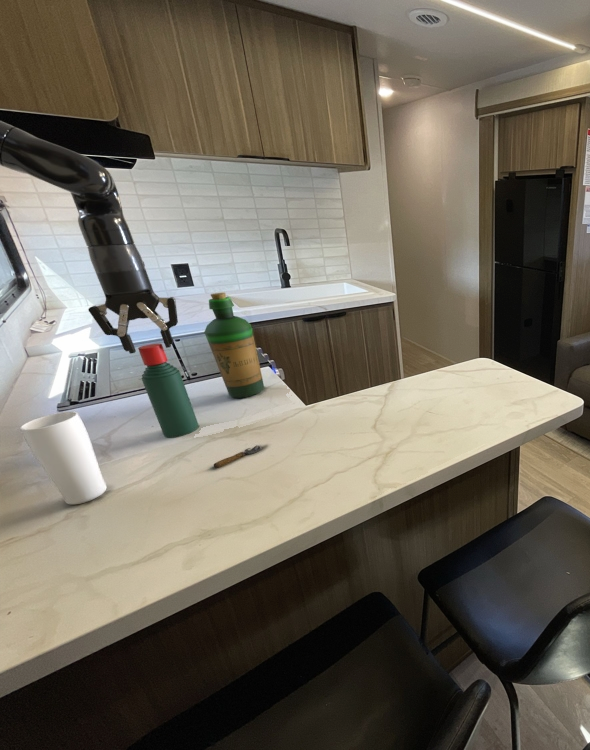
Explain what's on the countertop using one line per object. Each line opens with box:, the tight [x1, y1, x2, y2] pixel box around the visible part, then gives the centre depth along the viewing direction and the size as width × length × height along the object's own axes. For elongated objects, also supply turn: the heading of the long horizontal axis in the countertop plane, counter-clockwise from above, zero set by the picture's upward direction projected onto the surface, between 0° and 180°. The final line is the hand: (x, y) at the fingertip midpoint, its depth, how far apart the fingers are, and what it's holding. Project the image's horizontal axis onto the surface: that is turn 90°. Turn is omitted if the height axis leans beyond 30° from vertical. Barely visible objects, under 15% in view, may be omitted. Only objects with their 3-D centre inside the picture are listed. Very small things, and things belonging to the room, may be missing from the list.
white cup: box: [19, 411, 108, 506], centre depth 68 cm, size 7×7×15 cm
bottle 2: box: [203, 292, 265, 399], centre depth 109 cm, size 11×11×28 cm
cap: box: [137, 343, 168, 367], centre depth 87 cm, size 4×4×4 cm
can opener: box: [213, 444, 264, 469], centre depth 81 cm, size 9×2×1 cm, turn 140°
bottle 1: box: [141, 361, 200, 439], centre depth 90 cm, size 7×7×20 cm
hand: (151, 349), depth 86 cm, fingers open, 5 cm apart
